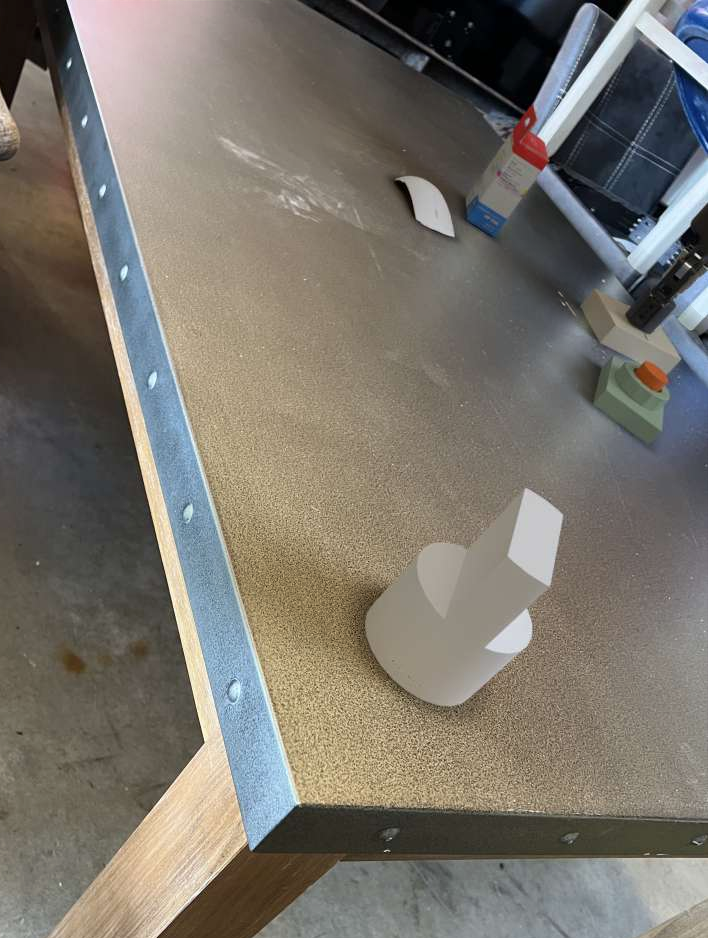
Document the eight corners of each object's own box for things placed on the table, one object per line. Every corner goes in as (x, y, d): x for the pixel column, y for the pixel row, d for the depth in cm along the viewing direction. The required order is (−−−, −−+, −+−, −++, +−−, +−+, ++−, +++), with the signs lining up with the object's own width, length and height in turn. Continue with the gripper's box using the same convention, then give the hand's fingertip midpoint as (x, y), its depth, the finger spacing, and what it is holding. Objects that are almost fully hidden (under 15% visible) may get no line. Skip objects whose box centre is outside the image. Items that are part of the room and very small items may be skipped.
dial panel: (643, 339, 136) (659, 321, 134) (665, 376, 130) (682, 358, 128) (579, 305, 132) (595, 287, 130) (599, 343, 126) (616, 323, 124)
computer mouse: (417, 223, 120) (428, 207, 119) (388, 173, 127) (398, 158, 126) (458, 241, 124) (469, 225, 122) (427, 191, 131) (437, 176, 129)
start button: (634, 368, 114) (644, 356, 113) (658, 386, 115) (669, 375, 113) (632, 378, 112) (643, 367, 110) (657, 397, 112) (668, 386, 111)
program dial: (629, 309, 131) (655, 280, 128) (654, 330, 131) (680, 302, 128) (622, 315, 128) (648, 285, 125) (647, 336, 127) (674, 307, 124)
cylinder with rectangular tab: (463, 730, 62) (592, 619, 54) (349, 651, 62) (463, 527, 54) (484, 649, 69) (601, 540, 61) (382, 577, 69) (487, 458, 61)
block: (601, 368, 120) (624, 343, 117) (652, 406, 120) (676, 382, 118) (592, 404, 111) (617, 377, 108) (648, 445, 111) (674, 420, 108)
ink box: (494, 239, 132) (566, 141, 123) (464, 220, 131) (535, 119, 122) (492, 216, 138) (560, 121, 129) (463, 198, 137) (531, 101, 128)
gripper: (758, 236, 112) (650, 349, 123) (772, 224, 123) (671, 329, 134) (708, 195, 113) (605, 311, 124) (726, 186, 124) (630, 294, 135)
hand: (640, 320), depth 129 cm, fingers closed on program dial, 4 cm apart
